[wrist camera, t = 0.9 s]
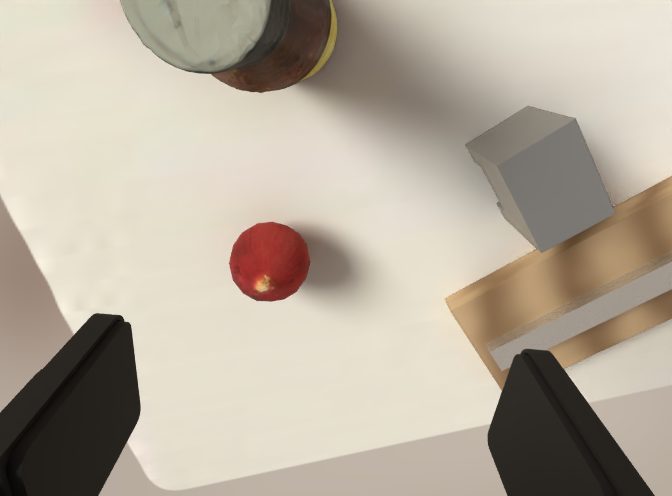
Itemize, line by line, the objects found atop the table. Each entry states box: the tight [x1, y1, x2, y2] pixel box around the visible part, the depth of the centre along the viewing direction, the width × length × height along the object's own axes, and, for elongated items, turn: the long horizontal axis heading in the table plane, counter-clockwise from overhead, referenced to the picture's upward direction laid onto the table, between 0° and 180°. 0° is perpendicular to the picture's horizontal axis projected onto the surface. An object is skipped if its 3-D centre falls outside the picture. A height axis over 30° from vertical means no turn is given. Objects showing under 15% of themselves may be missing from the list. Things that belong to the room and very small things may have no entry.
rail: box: [486, 251, 672, 371], centre depth 35 cm, size 18×2×2 cm, turn 124°
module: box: [466, 106, 615, 253], centre depth 30 cm, size 5×8×7 cm, turn 33°
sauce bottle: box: [120, 0, 337, 93], centre depth 20 cm, size 6×6×20 cm
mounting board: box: [445, 176, 672, 390], centre depth 36 cm, size 20×11×2 cm, turn 124°
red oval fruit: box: [229, 222, 310, 302], centre depth 32 cm, size 6×6×8 cm
